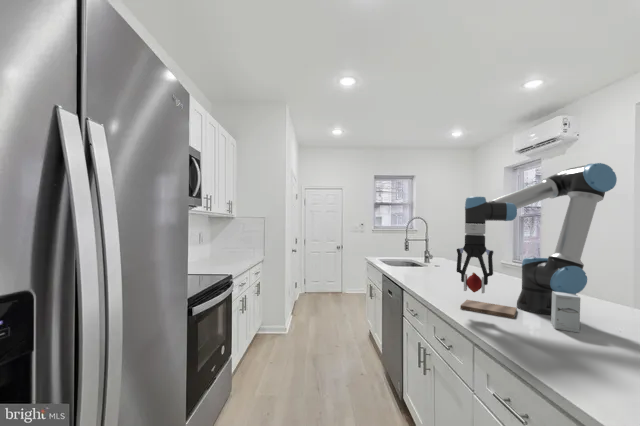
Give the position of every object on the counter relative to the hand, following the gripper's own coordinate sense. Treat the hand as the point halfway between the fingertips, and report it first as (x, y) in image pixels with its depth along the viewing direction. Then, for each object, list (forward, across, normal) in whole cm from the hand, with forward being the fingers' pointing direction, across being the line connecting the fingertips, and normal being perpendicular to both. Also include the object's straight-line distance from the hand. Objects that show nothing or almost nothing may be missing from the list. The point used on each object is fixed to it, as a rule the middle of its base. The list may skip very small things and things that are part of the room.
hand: (474, 291), depth 130 cm
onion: (+1, 0, 0) cm, 1 cm away
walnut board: (+10, +4, +14) cm, 17 cm away
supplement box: (+10, +30, +6) cm, 32 cm away
